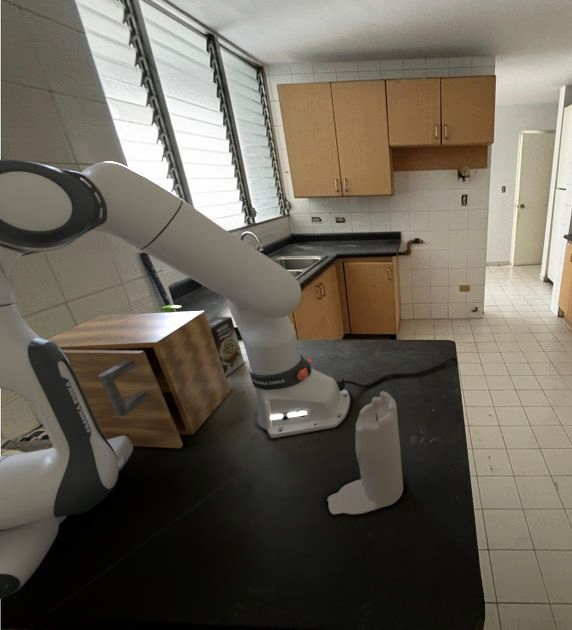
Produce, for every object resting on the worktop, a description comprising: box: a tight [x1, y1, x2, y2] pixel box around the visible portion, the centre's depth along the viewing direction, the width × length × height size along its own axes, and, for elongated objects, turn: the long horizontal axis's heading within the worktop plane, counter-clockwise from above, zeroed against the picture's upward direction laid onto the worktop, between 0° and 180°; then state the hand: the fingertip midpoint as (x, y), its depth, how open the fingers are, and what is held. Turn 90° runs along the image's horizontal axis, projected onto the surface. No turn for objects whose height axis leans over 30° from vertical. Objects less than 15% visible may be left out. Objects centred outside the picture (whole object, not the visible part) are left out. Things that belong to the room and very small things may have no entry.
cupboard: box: [47, 310, 231, 436], centre depth 81 cm, size 17×26×24 cm, turn 91°
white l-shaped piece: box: [326, 391, 404, 515], centre depth 57 cm, size 7×14×20 cm, turn 108°
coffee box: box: [207, 316, 245, 377], centre depth 101 cm, size 9×6×16 cm
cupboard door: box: [62, 350, 184, 449], centre depth 68 cm, size 7×26×24 cm, turn 84°
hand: (77, 442), depth 67 cm, fingers closed
